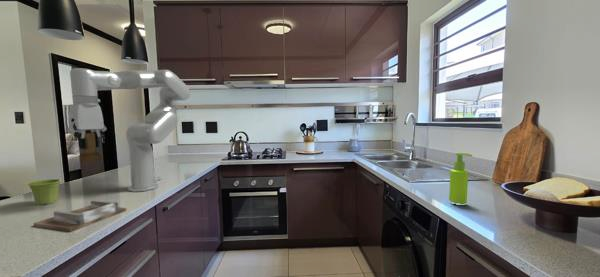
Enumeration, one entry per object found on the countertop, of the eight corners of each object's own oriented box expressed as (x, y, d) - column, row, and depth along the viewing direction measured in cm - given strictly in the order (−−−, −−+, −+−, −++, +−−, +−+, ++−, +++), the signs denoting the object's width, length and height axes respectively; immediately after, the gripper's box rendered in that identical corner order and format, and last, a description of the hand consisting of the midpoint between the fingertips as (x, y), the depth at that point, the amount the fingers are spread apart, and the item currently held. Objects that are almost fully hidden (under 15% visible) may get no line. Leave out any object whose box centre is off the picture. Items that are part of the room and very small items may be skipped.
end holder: (93, 206, 96) (93, 196, 96) (126, 210, 92) (125, 200, 92) (33, 226, 79) (32, 213, 79) (70, 231, 75) (69, 218, 75)
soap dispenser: (470, 207, 94) (473, 154, 93) (449, 204, 98) (451, 153, 96) (469, 202, 99) (471, 153, 98) (448, 200, 103) (451, 151, 101)
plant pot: (68, 199, 106) (67, 179, 105) (44, 207, 97) (42, 185, 96) (49, 198, 107) (47, 178, 106) (22, 206, 97) (20, 184, 97)
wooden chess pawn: (88, 162, 96) (84, 115, 94) (75, 161, 97) (71, 115, 96) (105, 159, 102) (101, 115, 101) (92, 159, 104) (88, 115, 102)
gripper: (100, 102, 107) (103, 145, 108) (52, 100, 91) (57, 150, 92) (113, 102, 105) (117, 145, 106) (67, 99, 89) (72, 151, 90)
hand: (89, 147), depth 99 cm, fingers closed on wooden chess pawn, 3 cm apart
